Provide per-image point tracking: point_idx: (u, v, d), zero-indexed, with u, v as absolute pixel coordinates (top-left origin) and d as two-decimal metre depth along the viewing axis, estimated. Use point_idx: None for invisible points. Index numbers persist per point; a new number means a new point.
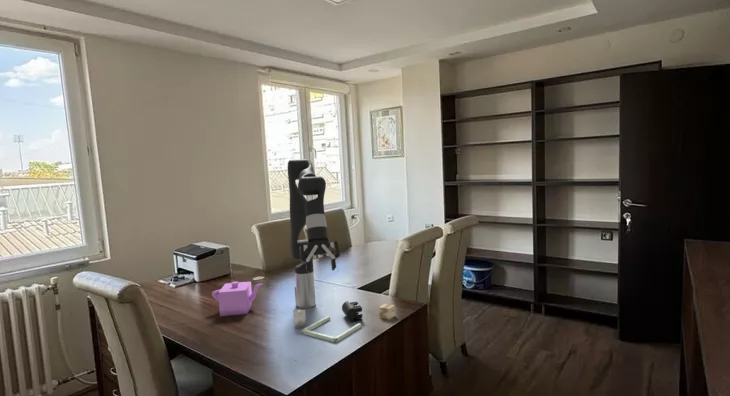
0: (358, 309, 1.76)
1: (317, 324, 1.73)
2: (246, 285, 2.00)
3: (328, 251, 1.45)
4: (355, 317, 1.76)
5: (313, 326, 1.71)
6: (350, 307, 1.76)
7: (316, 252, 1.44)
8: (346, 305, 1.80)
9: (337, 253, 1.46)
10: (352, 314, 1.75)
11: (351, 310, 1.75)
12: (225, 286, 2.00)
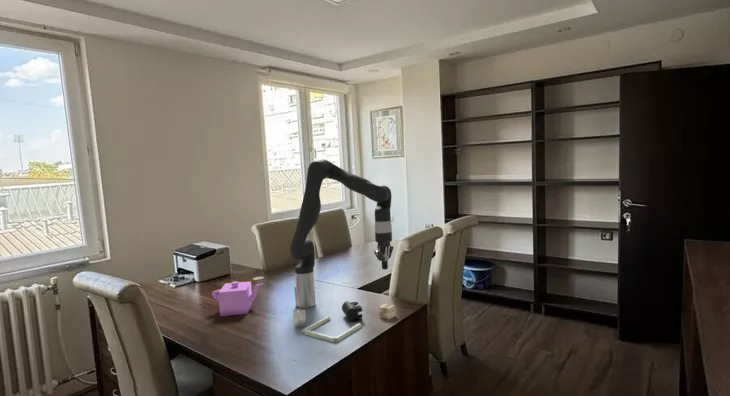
0: (358, 309, 1.76)
1: (317, 324, 1.73)
2: (246, 285, 2.00)
3: (388, 252, 1.78)
4: (355, 317, 1.76)
5: (313, 326, 1.71)
6: (350, 307, 1.76)
7: None
8: (346, 305, 1.80)
9: (389, 255, 1.79)
10: (352, 314, 1.75)
11: (351, 310, 1.75)
12: (225, 286, 2.00)
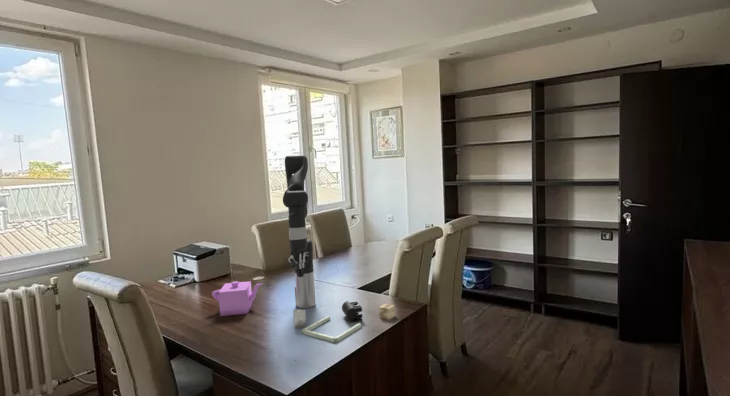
0: (358, 309, 1.76)
1: (317, 324, 1.73)
2: (246, 285, 2.00)
3: (304, 260, 1.72)
4: (355, 317, 1.76)
5: (313, 326, 1.71)
6: (350, 307, 1.76)
7: (301, 257, 1.71)
8: (346, 305, 1.80)
9: (305, 262, 1.74)
10: (352, 314, 1.75)
11: (351, 310, 1.75)
12: (225, 286, 2.00)
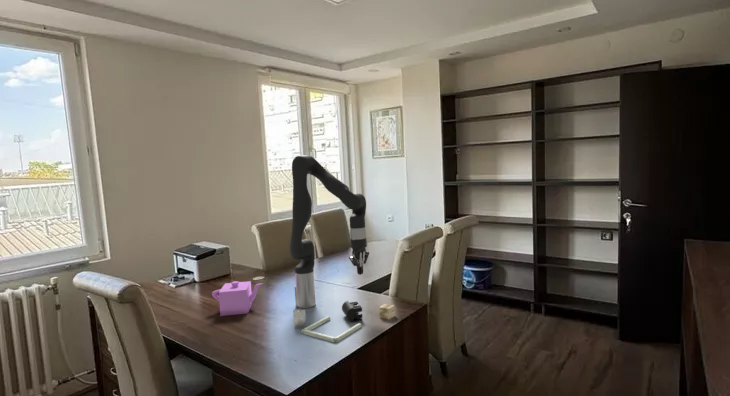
0: (358, 309, 1.76)
1: (317, 324, 1.73)
2: (246, 285, 2.00)
3: (363, 258, 1.84)
4: (355, 317, 1.76)
5: (313, 326, 1.71)
6: (350, 307, 1.76)
7: None
8: (346, 305, 1.80)
9: (364, 261, 1.86)
10: (352, 314, 1.75)
11: (351, 310, 1.75)
12: (225, 286, 2.00)
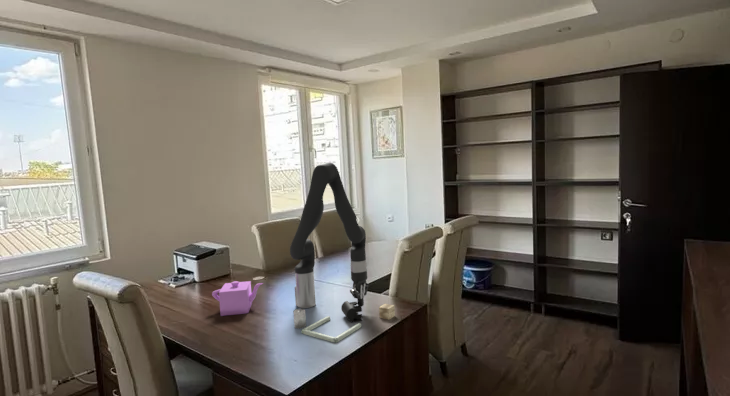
0: (358, 309, 1.76)
1: (317, 324, 1.73)
2: (246, 285, 2.00)
3: (364, 290, 1.85)
4: (355, 317, 1.76)
5: (313, 326, 1.71)
6: (350, 307, 1.76)
7: (361, 288, 1.84)
8: (346, 305, 1.80)
9: (365, 292, 1.87)
10: (352, 314, 1.75)
11: (351, 310, 1.74)
12: (225, 286, 2.00)
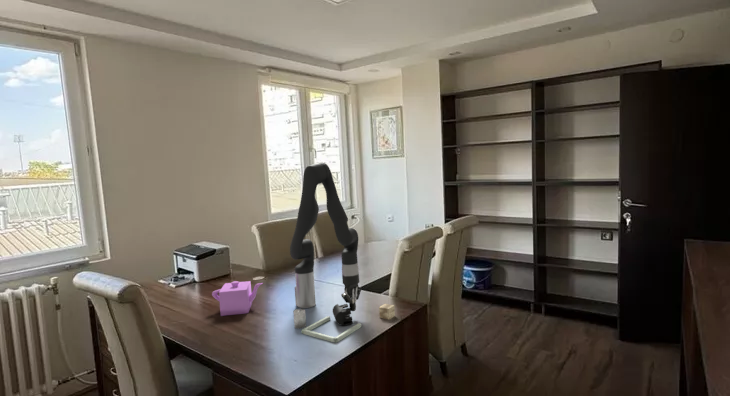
0: (347, 312, 1.72)
1: (317, 324, 1.73)
2: (246, 285, 2.01)
3: (356, 294, 1.79)
4: (345, 320, 1.72)
5: (313, 326, 1.71)
6: (338, 311, 1.72)
7: (353, 292, 1.79)
8: (335, 309, 1.76)
9: (357, 296, 1.81)
10: (341, 318, 1.71)
11: (339, 313, 1.71)
12: (225, 286, 2.00)
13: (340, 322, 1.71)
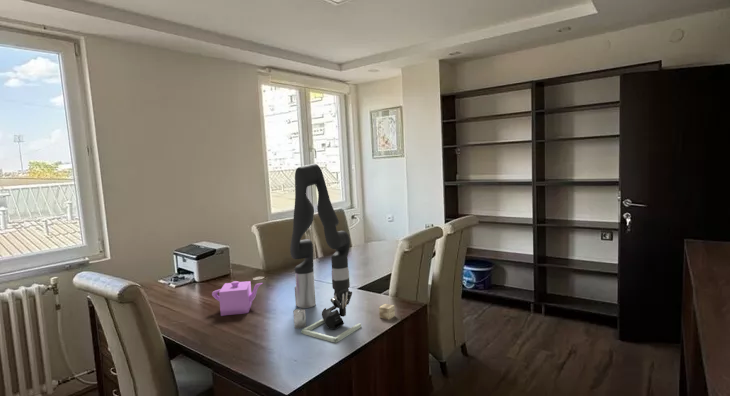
0: (335, 314, 1.68)
1: (317, 324, 1.73)
2: (246, 284, 2.01)
3: (346, 299, 1.74)
4: (335, 323, 1.68)
5: (313, 326, 1.71)
6: (327, 315, 1.68)
7: (343, 297, 1.73)
8: (324, 314, 1.72)
9: (347, 301, 1.75)
10: (331, 322, 1.67)
11: (328, 318, 1.67)
12: (225, 286, 2.00)
13: (331, 326, 1.67)
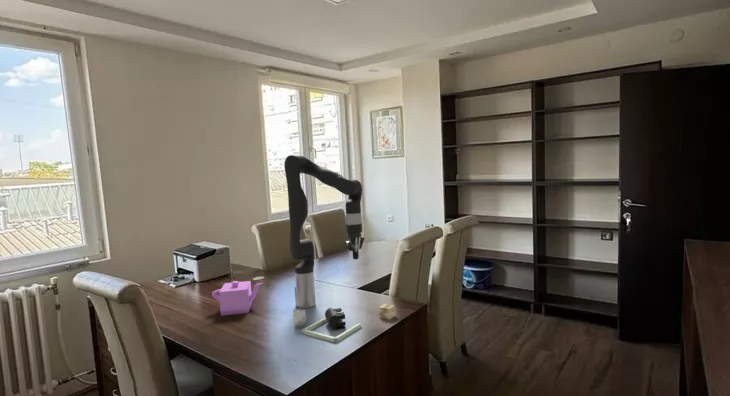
0: (341, 316, 1.69)
1: (317, 324, 1.73)
2: (246, 284, 2.01)
3: (359, 243, 1.87)
4: (338, 325, 1.68)
5: (313, 326, 1.71)
6: (333, 314, 1.69)
7: (356, 241, 1.86)
8: (329, 312, 1.73)
9: (360, 246, 1.88)
10: (334, 322, 1.68)
11: (333, 317, 1.67)
12: (225, 286, 2.00)
13: (333, 326, 1.67)
